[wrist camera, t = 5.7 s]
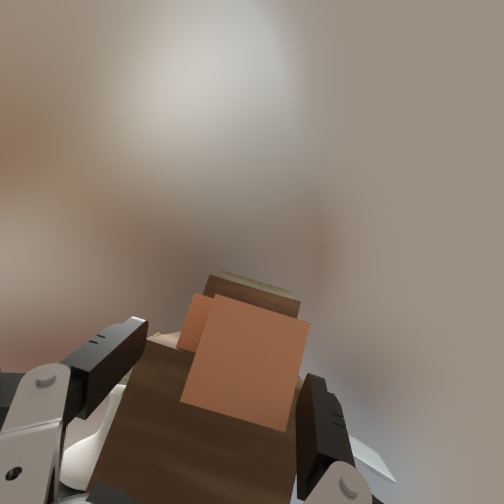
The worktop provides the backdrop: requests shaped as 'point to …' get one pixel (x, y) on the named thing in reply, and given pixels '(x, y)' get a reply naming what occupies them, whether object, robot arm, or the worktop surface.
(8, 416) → the robot arm
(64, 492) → the worktop surface
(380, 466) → the worktop surface
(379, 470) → the worktop surface
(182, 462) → the walnut step stand
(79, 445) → the flower in vase
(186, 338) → the coral tab brick
